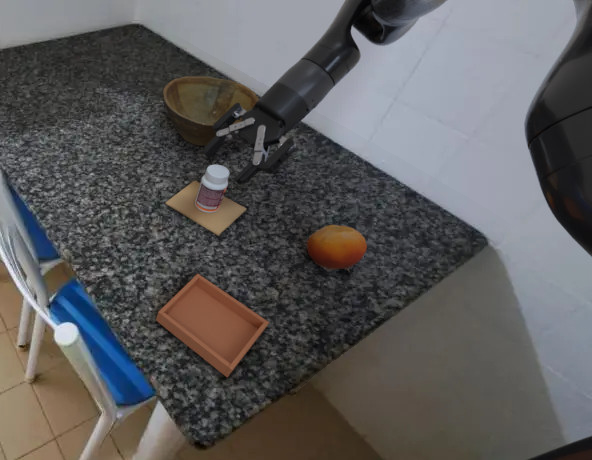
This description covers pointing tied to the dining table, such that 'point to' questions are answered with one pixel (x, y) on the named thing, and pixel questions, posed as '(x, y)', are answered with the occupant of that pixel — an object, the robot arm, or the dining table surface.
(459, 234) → the dining table surface
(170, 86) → the bowl
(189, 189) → the mat
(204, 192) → the pill bottle
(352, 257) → the fruit
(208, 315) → the tray
